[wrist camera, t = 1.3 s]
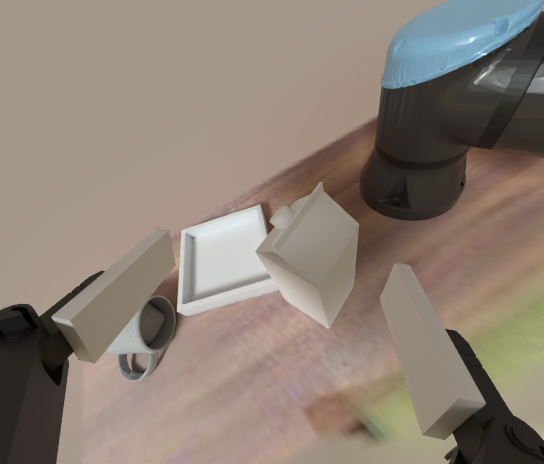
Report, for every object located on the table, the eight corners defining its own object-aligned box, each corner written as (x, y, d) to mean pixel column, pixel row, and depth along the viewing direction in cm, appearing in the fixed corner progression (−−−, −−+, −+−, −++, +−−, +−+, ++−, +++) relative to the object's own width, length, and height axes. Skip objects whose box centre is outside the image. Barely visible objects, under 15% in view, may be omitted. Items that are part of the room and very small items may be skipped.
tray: (264, 214, 45) (260, 204, 42) (281, 289, 35) (277, 281, 33) (190, 238, 46) (181, 230, 44) (187, 316, 37) (176, 311, 34)
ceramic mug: (136, 310, 40) (98, 296, 34) (179, 303, 38) (148, 287, 32) (117, 384, 34) (66, 383, 27) (168, 378, 32) (126, 377, 26)
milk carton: (354, 286, 33) (362, 194, 18) (329, 330, 30) (313, 267, 15) (311, 263, 36) (287, 171, 21) (285, 301, 34) (238, 227, 19)
